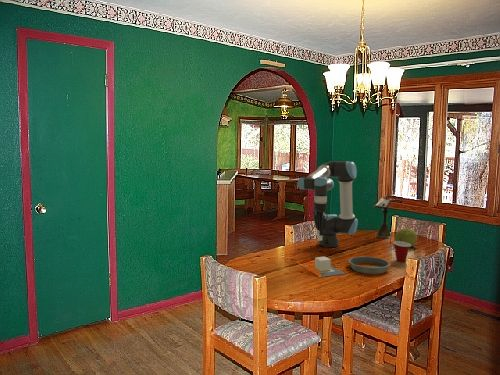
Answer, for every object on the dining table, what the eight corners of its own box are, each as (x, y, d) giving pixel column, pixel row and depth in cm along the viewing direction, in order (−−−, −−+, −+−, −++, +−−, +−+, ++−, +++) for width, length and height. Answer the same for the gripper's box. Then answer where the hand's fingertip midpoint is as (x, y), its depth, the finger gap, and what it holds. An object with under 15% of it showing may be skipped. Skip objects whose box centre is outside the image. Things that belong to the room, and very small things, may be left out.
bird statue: (383, 240, 333) (385, 196, 328) (370, 237, 343) (371, 194, 339) (396, 237, 342) (398, 194, 338) (382, 234, 353) (384, 192, 349)
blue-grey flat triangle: (291, 261, 276) (291, 260, 276) (315, 258, 283) (315, 258, 283) (319, 277, 245) (319, 277, 245) (345, 274, 252) (345, 273, 251)
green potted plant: (391, 247, 313) (390, 227, 318) (401, 251, 321) (400, 231, 327) (412, 244, 301) (410, 223, 307) (421, 248, 310) (420, 228, 316)
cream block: (320, 260, 253) (320, 272, 254) (330, 259, 255) (330, 270, 256) (314, 257, 259) (314, 268, 260) (324, 256, 262) (324, 267, 263)
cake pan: (396, 269, 262) (397, 261, 262) (376, 278, 245) (376, 270, 245) (362, 260, 280) (362, 253, 279) (340, 268, 263) (340, 261, 263)
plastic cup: (408, 264, 271) (409, 245, 270) (391, 261, 277) (391, 243, 275) (411, 260, 280) (412, 242, 279) (394, 257, 286) (395, 240, 284)
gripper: (309, 201, 262) (309, 238, 265) (320, 204, 250) (320, 243, 253) (320, 200, 264) (319, 237, 267) (331, 203, 252) (330, 242, 255)
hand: (319, 240), depth 260 cm, fingers closed
